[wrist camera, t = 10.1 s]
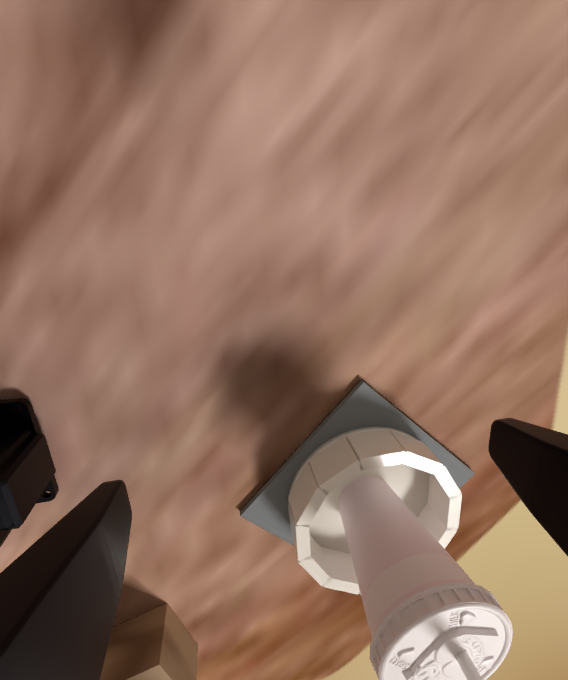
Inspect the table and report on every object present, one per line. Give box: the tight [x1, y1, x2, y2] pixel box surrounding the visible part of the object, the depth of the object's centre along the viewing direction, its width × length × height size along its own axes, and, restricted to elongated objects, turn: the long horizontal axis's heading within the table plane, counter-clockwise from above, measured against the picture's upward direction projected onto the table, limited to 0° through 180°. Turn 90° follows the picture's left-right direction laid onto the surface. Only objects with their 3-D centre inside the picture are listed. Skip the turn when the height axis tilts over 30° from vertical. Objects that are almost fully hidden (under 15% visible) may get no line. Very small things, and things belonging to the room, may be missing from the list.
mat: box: [240, 380, 475, 545], centre depth 26 cm, size 12×12×1 cm
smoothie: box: [338, 476, 513, 680], centre depth 19 cm, size 6×6×14 cm
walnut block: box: [100, 603, 198, 680], centre depth 25 cm, size 5×5×4 cm
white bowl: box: [288, 426, 462, 594], centre depth 24 cm, size 11×11×3 cm
